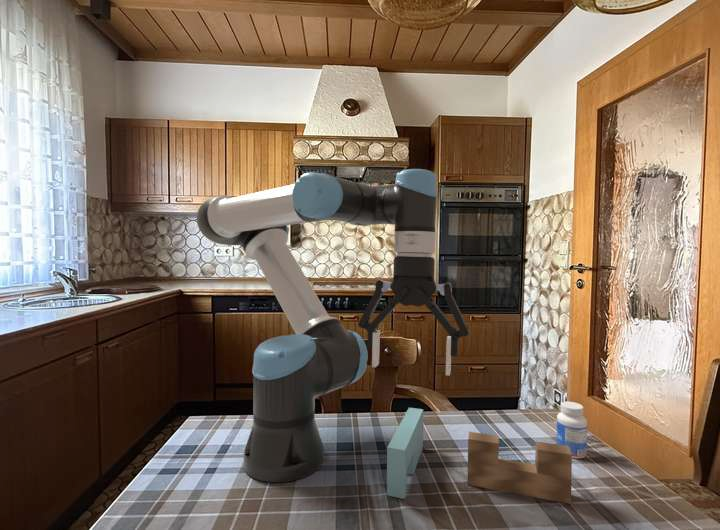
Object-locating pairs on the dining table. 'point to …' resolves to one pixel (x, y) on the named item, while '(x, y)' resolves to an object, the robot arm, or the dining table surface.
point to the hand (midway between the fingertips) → (410, 369)
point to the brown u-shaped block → (520, 469)
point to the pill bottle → (572, 429)
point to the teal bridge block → (404, 452)
